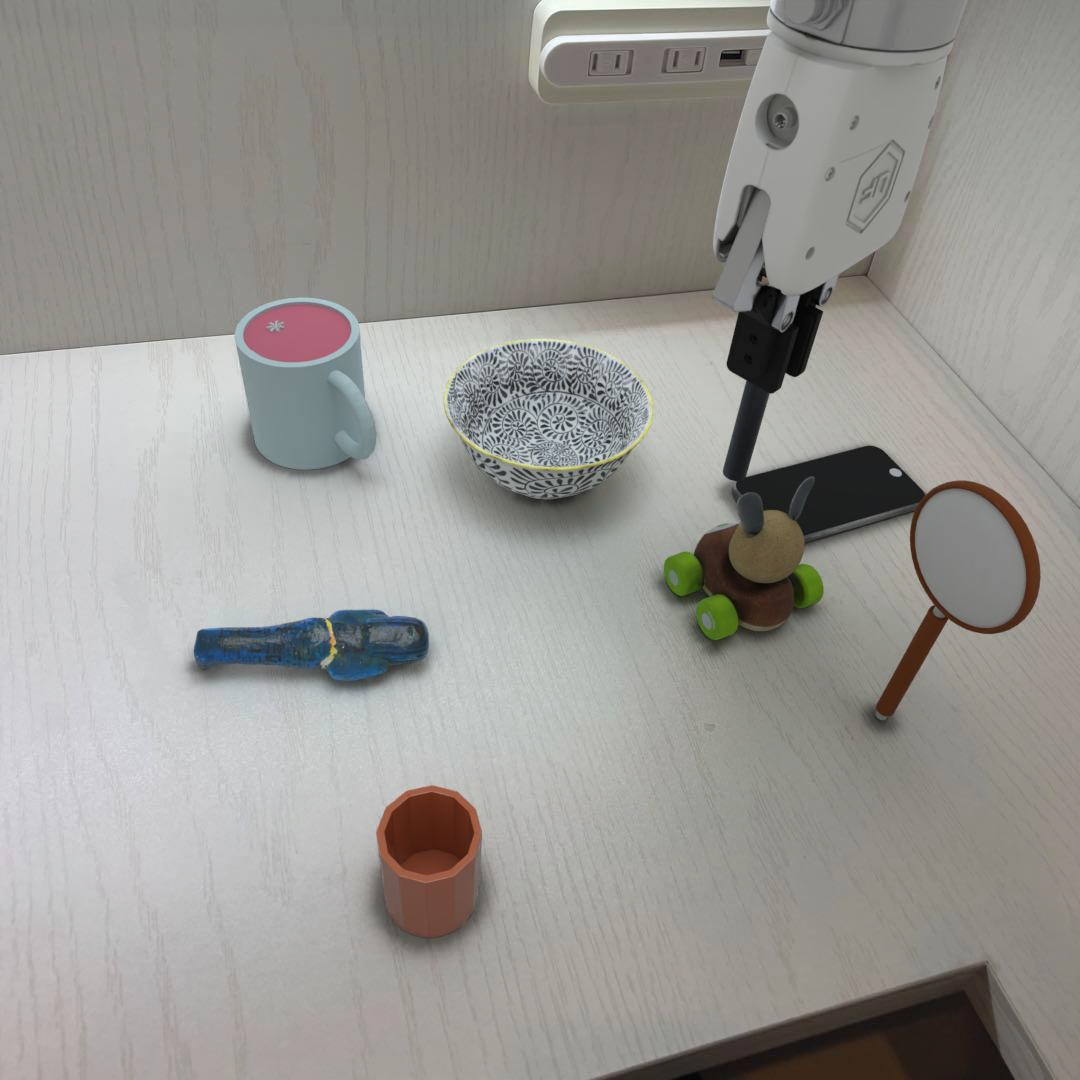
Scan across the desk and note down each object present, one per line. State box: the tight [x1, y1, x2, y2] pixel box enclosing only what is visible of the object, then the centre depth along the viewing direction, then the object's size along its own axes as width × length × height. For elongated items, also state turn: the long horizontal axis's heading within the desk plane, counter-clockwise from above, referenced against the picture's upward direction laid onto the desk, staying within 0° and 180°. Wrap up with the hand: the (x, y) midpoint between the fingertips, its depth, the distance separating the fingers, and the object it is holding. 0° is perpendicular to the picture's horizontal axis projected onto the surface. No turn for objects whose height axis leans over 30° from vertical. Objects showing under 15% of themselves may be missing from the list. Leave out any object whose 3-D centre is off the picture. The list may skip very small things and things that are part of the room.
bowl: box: [442, 338, 654, 500], centre depth 76 cm, size 16×16×8 cm
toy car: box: [663, 477, 825, 641], centre depth 67 cm, size 9×9×11 cm
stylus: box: [722, 285, 780, 482], centre depth 53 cm, size 1×1×13 cm
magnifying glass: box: [875, 479, 1042, 721], centre depth 57 cm, size 9×2×20 cm, turn 23°
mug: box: [234, 297, 377, 471], centre depth 76 cm, size 14×9×10 cm
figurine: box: [193, 608, 430, 682], centre depth 64 cm, size 5×4×15 cm
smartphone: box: [731, 445, 927, 543], centre depth 79 cm, size 8×1×15 cm
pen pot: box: [375, 784, 483, 938], centre depth 52 cm, size 5×5×7 cm
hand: (764, 370), depth 52 cm, fingers closed on stylus, 1 cm apart
